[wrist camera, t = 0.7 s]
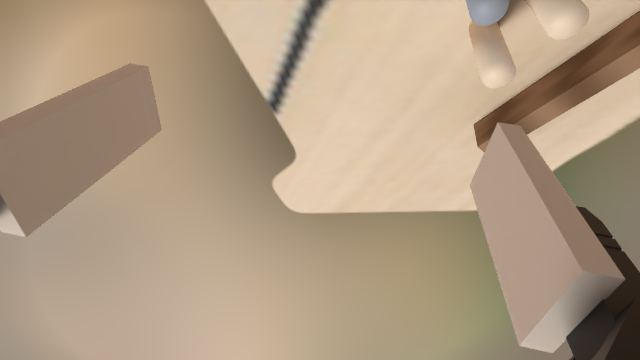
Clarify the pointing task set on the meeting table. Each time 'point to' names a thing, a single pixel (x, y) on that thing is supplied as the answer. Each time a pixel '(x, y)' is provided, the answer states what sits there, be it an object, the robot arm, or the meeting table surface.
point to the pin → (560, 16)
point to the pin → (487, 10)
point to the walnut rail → (569, 82)
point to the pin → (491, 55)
